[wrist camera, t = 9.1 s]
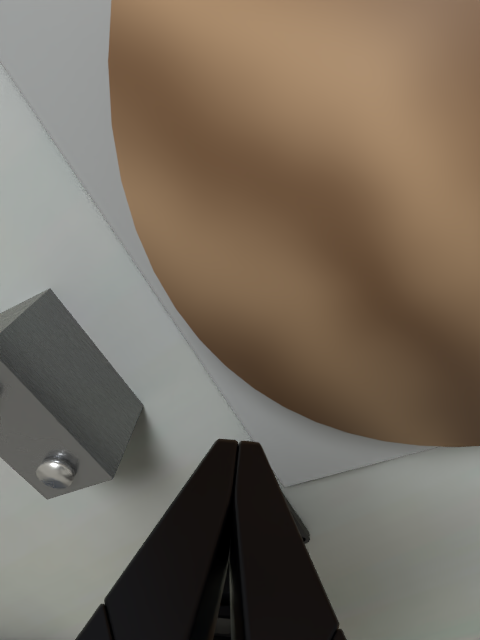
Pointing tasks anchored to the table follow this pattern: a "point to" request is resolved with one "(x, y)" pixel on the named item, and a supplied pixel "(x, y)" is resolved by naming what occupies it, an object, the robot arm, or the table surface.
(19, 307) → the steel link block
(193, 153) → the round wooden board
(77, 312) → the table surface
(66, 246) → the table surface
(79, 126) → the base plate
